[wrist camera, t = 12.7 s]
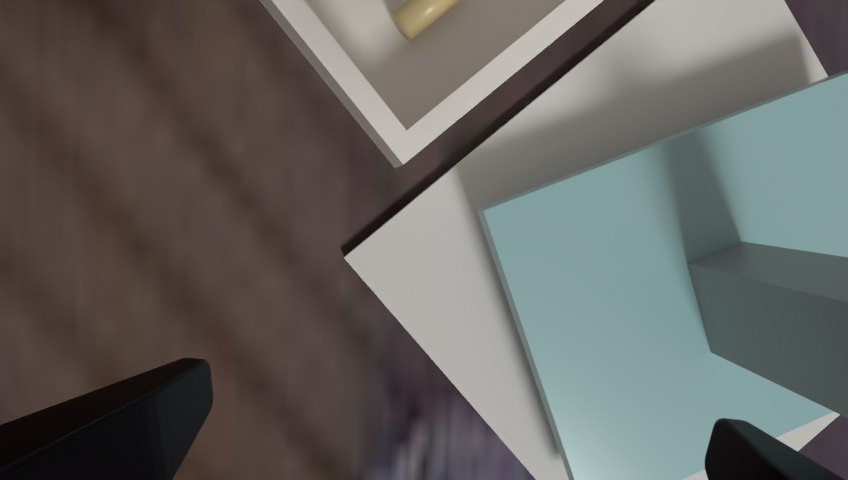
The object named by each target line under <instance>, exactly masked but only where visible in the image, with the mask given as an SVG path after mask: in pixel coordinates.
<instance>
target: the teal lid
mask: <svg viewBox="0 0 848 480" xmlns="http://www.w3.org/2000/svg"><path fill="white" fill-rule="evenodd" d="M477 212H478V215H479V218H480V221H481V223H482V226H483V229H484V232H485V235H486V238H487V241H488V244H489V247H490V250H491V253H492V256H493V259H494V262H495V264H496V267H497V270H498V273H499V276H500V279H501V282H502V285H503V288H504V291H505V294H506V297H507V300H508V303H509V305H510V308H511V311H512V314H513V317H514V320H515V323H516V326H517V329H518V332H519V335H520V338H521V341H522V344H523V346H524V349H525V352H526V355H527V358H528V361H529V364H530V367H531V370H532V373H533V376H534V379H535V382H536V385H537V387H538V390H539V393H540V396H541V399H542V402H543V405H544V408H545V411H546V414H547V417H548V420H549V423H550V426H551V428H552V431H553V434H554V437H555V440H556V443H557V446H558V449H559V452H560V455H561V458H562V461H563V464H564V467H565V469H566V472H567V475H568V478H569V480H682V479H684V478H686V477H689V476H691V475H693V474H695V473H698V472H700V471H702V470H704V469H705V455H706V451H707V448H708V444H709V440H710V437H711V433H712V429H713V426H714V424H715V422H716V421H717V420H718V419H720V418H728V419H737V420H744V421H747V422H749V423H750V424H752V425H754V426H755V427H757V428H759V429H761V430H762V431H764V432H766V433H767V434H769V435H771V436H772V437H774V438H776V437H778V436H781V435H783V434H785V433H787V432H789V431H792V430H794V429H796V428H798V427H801V426H803V425H805V424H807V423H810V422H812V421H814V420H816V419H819V418H821V417H823V416H825V415H828V414H830V413H832V412H836V413H838V414H840V415H842V416H844V417H847V418H848V70H846V71H842V72H840V73H837V74H834V75H832V76H829V77H826V78H824V79H821V80H818V81H816V82H813V83H810V84H808V85H805V86H803V87H800V88H797V89H795V90H792V91H789V92H787V93H784V94H781V95H779V96H776V97H773V98H771V99H768V100H765V101H763V102H760V103H757V104H755V105H752V106H749V107H747V108H744V109H741V110H739V111H736V112H734V113H731V114H728V115H726V116H723V117H720V118H718V119H715V120H712V121H710V122H707V123H704V124H702V125H699V126H696V127H694V128H691V129H688V130H686V131H683V132H680V133H678V134H675V135H672V136H670V137H667V138H665V139H662V140H659V141H657V142H654V143H651V144H649V145H646V146H643V147H641V148H638V149H635V150H633V151H630V152H627V153H625V154H622V155H619V156H617V157H614V158H611V159H609V160H606V161H603V162H601V163H598V164H596V165H593V166H590V167H588V168H585V169H582V170H580V171H577V172H574V173H572V174H569V175H566V176H564V177H561V178H558V179H556V180H553V181H550V182H548V183H545V184H542V185H540V186H537V187H534V188H532V189H529V190H527V191H524V192H521V193H519V194H516V195H513V196H511V197H508V198H505V199H503V200H500V201H497V202H495V203H492V204H489V205H487V206H484V207H481V208H479V209H477Z"/></svg>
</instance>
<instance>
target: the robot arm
mask: <svg viewBox="0 0 848 480" xmlns="http://www.w3.org/2000/svg"><path fill="white" fill-rule="evenodd" d="M212 403H213V390H212V380H211V369H210V365H209V363H208V362H207V361H206V360H204V359H196V358H182V359H180V360H177V361H174V362H171V363H169V364H166V365H163V366H160V367H158V368H155V369H152V370H150V371H147V372H144V373H141V374H139V375H136V376H133V377H130V378H128V379H125V380H122V381H120V382H117V383H114V384H111V385H109V386H106V387H103V388H100V389H98V390H95V391H92V392H89V393H87V394H84V395H81V396H79V397H76V398H73V399H70V400H68V401H65V402H62V403H59V404H57V405H54V406H51V407H49V408H46V409H43V410H40V411H38V412H35V413H32V414H29V415H27V416H24V417H21V418H18V419H16V420H13V421H10V422H8V423H5V424H2V425H0V480H172V479H173V477H174V476H175V474H176V472H177V470H178V469H179V467H180V465H181V463H182V461H183V460H184V458H185V456H186V454H187V452H188V450H189V449H190V447H191V445H192V443H193V441H194V440H195V438H196V436H197V434H198V432H199V430H200V429H201V427H202V425H203V423H204V421H205V420H206V418H207V416H208V414H209V412H210V410H211V407H212ZM705 471H706V475H707V478H708V480H845V479H843V478H841V477H840V476H838V475H836V474H835V473H833V472H831V471H829V470H828V469H826V468H824V467H823V466H821V465H819V464H818V463H816V462H814V461H813V460H811V459H809V458H808V457H806V456H804V455H803V454H801V453H799V452H798V451H796V450H794V449H792V448H791V447H789V446H787V445H786V444H784V443H782V442H781V441H779V440H777V439H776V438H774V437H772V436H771V435H769V434H767V433H766V432H764V431H762V430H761V429H759V428H757V427H755V426H754V425H752V424H750V423H749V422H747V421H744V420H737V419H728V418H720V419H718V420H717V421H716V422H715V424H714V426H713V429H712V433H711V437H710V440H709V444H708V448H707V451H706V455H705Z"/></svg>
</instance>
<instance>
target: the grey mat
mask: <svg viewBox="0 0 848 480" xmlns="http://www.w3.org/2000/svg"><path fill="white" fill-rule="evenodd" d="M826 77H828V75H827V74H826V72H825V70H824V68H823V67H822V65H821V63H820V62H819V60H818V58H817V56H816V55H815V53H814V51H813V49H812V48H811V46H810V44H809V43H808V41H807V39H806V37H805V36H804V34H803V32H802V30H801V29H800V27H799V25H798V24H797V22H796V20H795V18H794V17H793V15H792V13H791V11H790V10H789V8H788V6H787V5H786V3H785V1H784V0H655V1H653V2H652V3H651V4H650V5H649V6H647V7H646V8H645V9H644V10H643V11H641V12H640V13H639V14H638V15H636V16H635V17H634V18H633V19H632V20H630V21H629V22H628V23H627V24H626V25H624V26H623V27H622V28H621V29H619V30H618V31H617V32H616V33H615V34H613V35H612V36H611V37H610V38H609V39H607V40H606V41H605V42H604V43H603V44H601V45H600V46H599V47H598V48H596V49H595V50H594V51H593V52H592V53H590V54H589V55H588V56H587V57H586V58H584V59H583V60H582V61H581V62H579V63H578V64H577V65H576V66H575V67H573V68H572V69H571V70H570V71H569V72H567V73H566V74H565V75H564V76H563V77H561V78H560V79H559V80H558V81H556V82H555V83H554V84H553V85H552V86H550V87H549V88H548V89H547V90H546V91H544V92H543V93H542V94H541V95H539V96H538V97H537V98H536V99H535V100H533V101H532V102H531V103H530V104H529V105H527V106H526V107H525V108H524V109H522V110H521V111H520V112H519V113H518V114H516V115H515V116H514V117H513V118H512V119H510V120H509V121H508V122H507V123H506V124H504V125H503V126H502V127H501V128H499V129H498V130H497V131H496V132H495V133H493V134H492V135H491V136H490V137H489V138H487V139H486V140H485V141H484V142H482V143H481V144H480V145H479V146H478V147H476V148H475V149H474V150H473V151H472V152H470V153H469V154H468V155H467V156H466V157H464V158H463V159H462V160H461V161H459V162H458V163H457V164H456V165H455V166H453V167H452V168H451V169H450V170H449V171H447V172H446V173H445V174H444V175H442V176H441V177H440V178H439V179H438V180H436V181H435V182H434V183H433V184H432V185H430V186H429V187H428V188H427V189H426V190H424V191H423V192H422V193H421V194H419V195H418V196H417V197H416V198H415V199H413V200H412V201H411V202H410V203H409V204H407V205H406V206H405V207H404V208H402V209H401V210H400V211H399V212H398V213H396V214H395V215H394V216H393V217H392V218H390V219H389V220H388V221H387V222H385V223H384V224H383V225H382V226H381V227H379V228H378V229H377V230H376V231H375V232H373V233H372V234H371V235H370V236H369V237H367V238H366V239H365V240H364V241H362V242H361V243H360V244H359V245H358V246H356V247H355V248H354V249H353V250H352V251H350V252H349V253H348V254H347V255H345V256H344V259H345V260H346V261H347V262H348V263H349V264H350V265H351V267H352V268H353V269H354V270H355V271H356V272H357V274H358V275H359V276H360V277H361V278H362V279H363V280H364V282H365V283H366V284H367V285H368V286H369V287H370V289H371V290H372V291H373V292H374V293H375V294H376V295H377V297H378V298H379V299H380V300H381V301H382V302H383V304H384V305H385V306H386V307H387V308H388V309H389V310H390V312H391V313H392V314H393V315H394V316H395V317H396V319H397V320H398V321H399V322H400V323H401V324H402V325H403V327H404V328H405V329H406V330H407V331H408V332H409V334H410V335H411V336H412V337H413V338H414V339H415V340H416V342H417V343H418V344H419V345H420V346H421V347H422V349H423V350H424V351H425V352H426V353H427V354H428V355H429V357H430V358H431V359H432V360H433V361H434V362H435V364H436V365H437V366H438V367H439V368H440V369H441V370H442V372H443V373H444V374H445V375H446V376H447V377H448V379H449V380H450V381H451V382H452V383H453V384H454V385H455V387H456V388H457V389H458V390H459V391H460V392H461V394H462V395H463V396H464V397H465V398H466V399H467V400H468V402H469V403H470V404H471V405H472V406H473V407H474V409H475V410H476V411H477V412H478V413H479V414H480V415H481V417H482V418H483V419H484V420H485V421H486V422H487V424H488V425H489V426H490V427H491V428H492V429H493V430H494V432H495V433H496V434H497V435H498V436H499V437H500V439H501V440H502V441H503V442H504V443H505V444H506V445H507V447H508V448H509V449H510V450H511V451H512V452H513V454H514V455H515V456H516V457H517V458H518V459H519V460H520V462H521V463H522V464H523V465H524V466H525V467H526V469H527V470H528V471H529V472H530V473H531V474H532V475H533V477H534V478H535V479H536V480H569V478H568V475H567V472H566V469H565V467H564V464H563V461H562V458H561V455H560V452H559V449H558V446H557V443H556V440H555V437H554V434H553V431H552V428H551V426H550V423H549V420H548V417H547V414H546V411H545V408H544V405H543V402H542V399H541V396H540V393H539V390H538V387H537V385H536V382H535V379H534V376H533V373H532V370H531V367H530V364H529V361H528V358H527V355H526V352H525V349H524V346H523V344H522V341H521V338H520V335H519V332H518V329H517V326H516V323H515V320H514V317H513V314H512V311H511V308H510V305H509V303H508V300H507V297H506V294H505V291H504V288H503V285H502V282H501V279H500V276H499V273H498V270H497V267H496V264H495V262H494V259H493V256H492V253H491V250H490V247H489V244H488V241H487V238H486V235H485V232H484V229H483V226H482V223H481V221H480V218H479V215H478V212H477V209H479V208H481V207H484V206H487V205H489V204H492V203H495V202H497V201H500V200H503V199H505V198H508V197H511V196H513V195H516V194H519V193H521V192H524V191H527V190H529V189H532V188H534V187H537V186H540V185H542V184H545V183H548V182H550V181H553V180H556V179H558V178H561V177H564V176H566V175H569V174H572V173H574V172H577V171H580V170H582V169H585V168H588V167H590V166H593V165H596V164H598V163H601V162H603V161H606V160H609V159H611V158H614V157H617V156H619V155H622V154H625V153H627V152H630V151H633V150H635V149H638V148H641V147H643V146H646V145H649V144H651V143H654V142H657V141H659V140H662V139H665V138H667V137H670V136H672V135H675V134H678V133H680V132H683V131H686V130H688V129H691V128H694V127H696V126H699V125H702V124H704V123H707V122H710V121H712V120H715V119H718V118H720V117H723V116H726V115H728V114H731V113H734V112H736V111H739V110H741V109H744V108H747V107H749V106H752V105H755V104H757V103H760V102H763V101H765V100H768V99H771V98H773V97H776V96H779V95H781V94H784V93H787V92H789V91H792V90H795V89H797V88H800V87H803V86H805V85H808V84H810V83H813V82H816V81H818V80H821V79H824V78H826ZM839 415H840V414H838V413H836V412H832V413H830V414H828V415H825V416H823V417H821V418H819V419H816V420H814V421H812V422H810V423H807V424H805V425H803V426H801V427H798V428H796V429H794V430H792V431H789V432H787V433H785V434H783V435H781V436H778V437H776V439H777V440H779V441H781V442H782V443H784V444H786V445H787V446H789V447H791V448H792V449H794V450H796V451H799V450H800V449H801V448H802V447H803V446H804V445H805V444H807V443H808V442H809V441H810V440H811V439H812V438H813V437H815V436H816V435H817V434H818V433H819V432H820V431H822V430H823V429H824V428H825V427H826V426H827V425H828V424H830V423H831V422H832V421H833V420H834V419H835V418H836V417H838V416H839ZM682 480H708V478H707V475H706V471H705V469H704V470H702V471H700V472H698V473H695V474H693V475H691V476H689V477H686V478H684V479H682Z"/></svg>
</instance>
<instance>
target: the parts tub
mask: <svg viewBox="0 0 848 480" xmlns="http://www.w3.org/2000/svg"><path fill="white" fill-rule="evenodd" d="M259 1H260V2H261V3H262V4H263V6H264V7H265V8H266V9H267V11H268V12H269V13H270V14H271V16H272V17H273V18H274V19H275V21H276V22H277V23H278V24H279V26H280V27H281V28H282V29H283V31H284V32H285V33H286V34H287V35H288V37H289V38H290V39H291V40H292V42H293V43H294V44H295V45H296V47H297V48H298V49H299V50H300V52H301V53H302V54H303V55H304V57H305V58H306V59H307V60H308V62H309V63H310V64H311V65H312V66H313V68H314V69H315V70H316V71H317V73H318V74H319V75H320V76H321V78H322V79H323V80H324V81H325V83H326V84H327V85H328V86H329V88H330V89H331V90H332V91H333V93H334V94H335V95H336V96H337V97H338V99H339V100H340V101H341V102H342V104H343V105H344V106H345V107H346V109H347V110H348V111H349V112H350V114H351V115H352V116H353V117H354V119H355V120H356V121H357V122H358V124H359V125H360V126H361V127H362V128H363V130H364V131H365V132H366V133H367V135H368V136H369V137H370V138H371V140H372V141H373V142H374V143H375V145H376V146H377V147H378V148H379V150H380V151H381V152H382V153H383V155H384V156H385V157H386V158H387V159H388V161H389V162H390V163H391V164H392V166H393V167H394V168H397V167H399V166H402V165H404V164H405V163H406V162H407V161H408V160H410V159H411V158H412V157H413V156H415V155H416V154H417V153H418V152H419V151H421V150H422V149H423V148H424V147H425V146H427V145H428V144H429V143H430V142H432V141H433V140H434V139H435V138H436V137H438V136H439V135H440V134H441V133H443V132H444V131H445V130H446V129H447V128H449V127H450V126H451V125H452V124H453V123H455V122H456V121H457V120H458V119H460V118H461V117H462V116H463V115H464V114H466V113H467V112H468V111H469V110H471V109H472V108H473V107H474V106H475V105H477V104H478V103H479V102H480V101H481V100H483V99H484V98H485V97H486V96H488V95H489V94H490V93H491V92H492V91H494V90H495V89H496V88H497V87H499V86H500V85H501V84H502V83H503V82H505V81H506V80H507V79H508V78H509V77H511V76H512V75H513V74H514V73H516V72H517V71H518V70H519V69H520V68H522V67H523V66H524V65H525V64H527V63H528V62H529V61H530V60H531V59H533V58H534V57H535V56H536V55H537V54H539V53H540V52H541V51H542V50H544V49H545V48H546V47H547V46H548V45H550V44H551V43H552V42H553V41H555V40H556V39H557V38H558V37H559V36H561V35H562V34H563V33H564V32H565V31H567V30H568V29H569V28H570V27H572V26H573V25H574V24H575V23H576V22H578V21H579V20H580V19H581V18H583V17H584V16H585V15H586V14H587V13H589V12H590V11H591V10H592V9H593V8H595V7H596V6H597V5H598V4H600V3H601V2H602V1H603V0H259Z"/></svg>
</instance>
